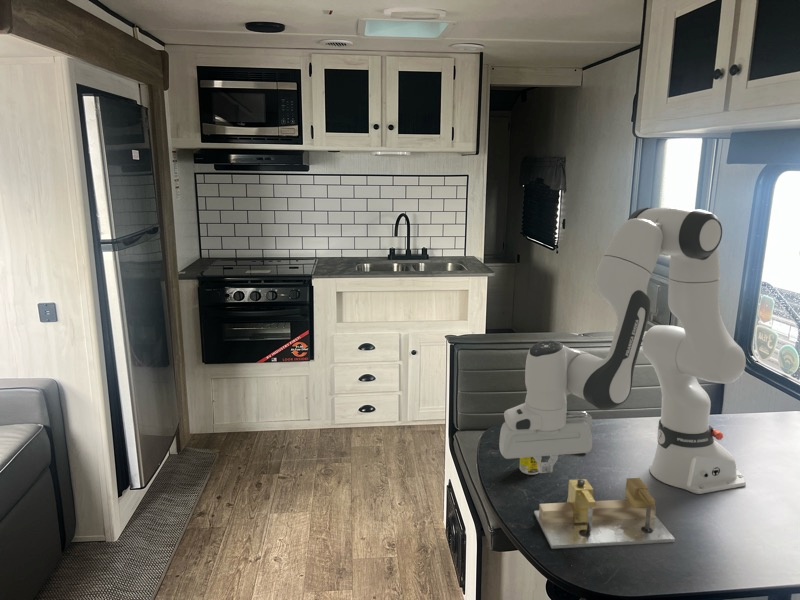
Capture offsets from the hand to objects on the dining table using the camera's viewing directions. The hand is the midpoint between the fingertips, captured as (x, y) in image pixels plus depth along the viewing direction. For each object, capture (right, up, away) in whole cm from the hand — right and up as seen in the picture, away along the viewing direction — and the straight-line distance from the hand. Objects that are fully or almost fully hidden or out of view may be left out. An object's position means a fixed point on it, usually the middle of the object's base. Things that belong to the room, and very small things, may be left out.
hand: (545, 471), depth 132 cm
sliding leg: (+9, -11, 0) cm, 14 cm away
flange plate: (+13, -13, 0) cm, 18 cm away
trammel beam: (+13, -12, +1) cm, 17 cm away
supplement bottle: (+2, -7, +26) cm, 27 cm away
